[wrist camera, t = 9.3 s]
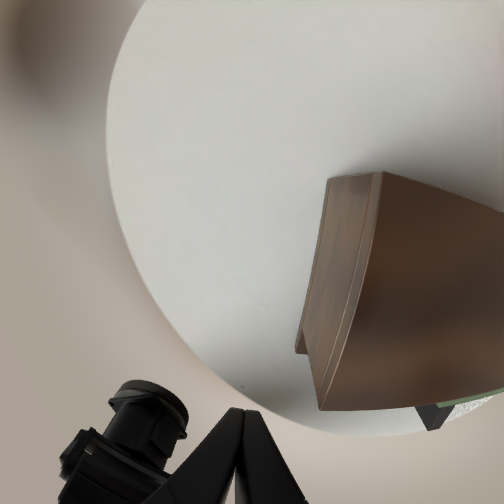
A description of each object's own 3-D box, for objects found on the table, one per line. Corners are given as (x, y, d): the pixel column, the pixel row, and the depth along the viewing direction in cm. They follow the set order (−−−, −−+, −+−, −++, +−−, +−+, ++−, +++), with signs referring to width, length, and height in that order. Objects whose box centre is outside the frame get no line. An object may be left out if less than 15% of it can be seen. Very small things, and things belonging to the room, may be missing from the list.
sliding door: (460, 376, 18) (491, 415, 12) (392, 382, 19) (420, 435, 12) (474, 347, 18) (511, 383, 11) (406, 349, 18) (443, 400, 12)
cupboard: (466, 350, 19) (514, 402, 10) (294, 346, 20) (306, 439, 11) (504, 228, 16) (574, 251, 8) (327, 178, 17) (382, 170, 8)
